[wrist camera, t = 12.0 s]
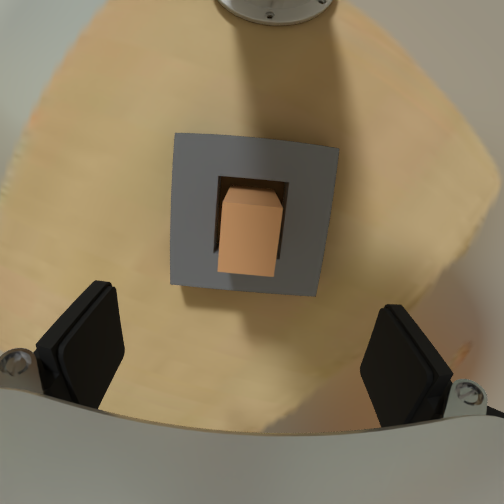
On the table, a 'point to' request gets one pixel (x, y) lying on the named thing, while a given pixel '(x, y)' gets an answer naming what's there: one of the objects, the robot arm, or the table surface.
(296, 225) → the socket plate
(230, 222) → the plug
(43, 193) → the table surface
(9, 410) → the robot arm
